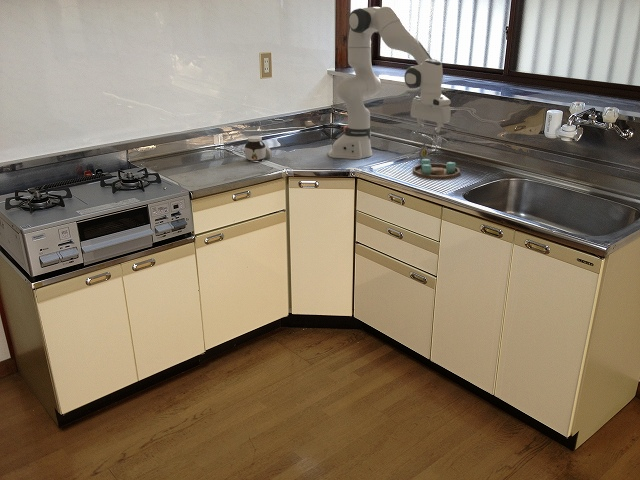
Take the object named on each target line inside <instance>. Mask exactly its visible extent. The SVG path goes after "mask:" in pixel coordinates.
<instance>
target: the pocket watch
mask: <svg viewBox="0 0 640 480" xmlns="http://www.w3.org/2000/svg"><path fill="white" fill-rule="evenodd" d="M426 144H427V142H426V141H423V142H422V145H423V146H422V147H421V148H420V149H419V152H418V157H419V159H420V161H422V159H429V158H427V157H428V155H429V147H427V146H426ZM429 160H430V162H432V163H436V162H437V160H435V159H429Z"/></svg>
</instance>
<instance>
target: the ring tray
mask: <svg viewBox="0 0 640 480" xmlns="http://www.w3.org/2000/svg"><path fill="white" fill-rule="evenodd" d="M430 165H431V175H427V174H422V170H421V164H420V163H419V164H417V165H414V166H412V174H413V175H415V176H416V177H418V178H422V179H429V180H450V179H455V178H457V177H459V176H460V175H461V170H460V168H459V167H457V166H455V173H454V174H447V173H446V165H447V163H440V162H439V163H437V162H435V163H433V162H430Z"/></svg>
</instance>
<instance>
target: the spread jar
mask: <svg viewBox="0 0 640 480" xmlns="http://www.w3.org/2000/svg"><path fill="white" fill-rule="evenodd" d="M272 156H273V152H272V150H271V148H270V147H269V146H267V145H266V144H265V142H264V141H263V140H262V136H260V135H251V136H248V137H247V141H246V142H245V145H244V158H245V160H247V161H248V162H250V161H261V162H263V161H264V160H265V159H271V158H272ZM262 160H263V161H262Z"/></svg>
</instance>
